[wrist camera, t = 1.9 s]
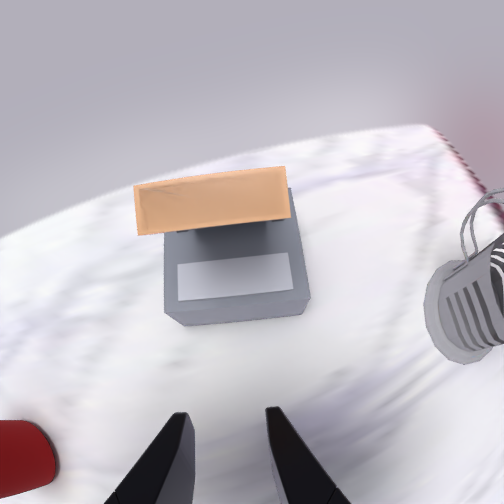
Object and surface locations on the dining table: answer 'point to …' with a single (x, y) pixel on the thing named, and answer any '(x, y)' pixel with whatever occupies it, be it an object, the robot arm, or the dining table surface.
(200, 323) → the switch box
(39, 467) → the beverage can
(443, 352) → the french press
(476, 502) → the dining table surface
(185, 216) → the lever
